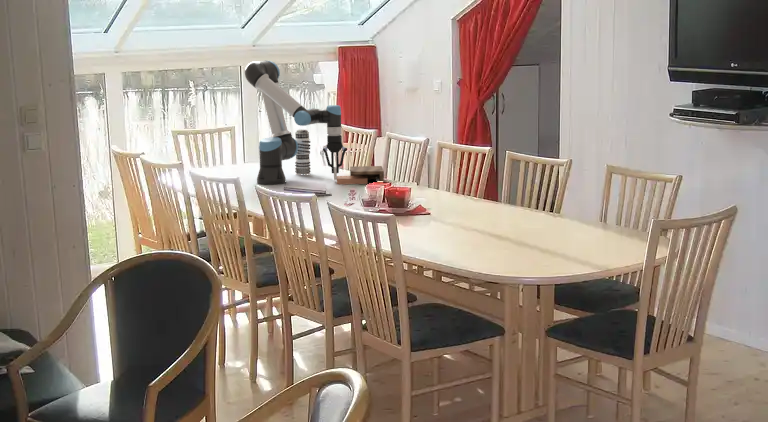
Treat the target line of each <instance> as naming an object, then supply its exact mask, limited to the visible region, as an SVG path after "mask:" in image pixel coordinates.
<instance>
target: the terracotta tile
mask: <svg viewBox="0 0 768 422" xmlns="http://www.w3.org/2000/svg"><path fill="white" fill-rule="evenodd" d="M336 184H337V185H363V184H364V185H365V184H368V180H367V176H350V175H337V180H336Z"/></svg>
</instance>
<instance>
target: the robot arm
mask: <svg viewBox="0 0 768 422" xmlns="http://www.w3.org/2000/svg"><path fill="white" fill-rule="evenodd" d="M280 73H281V71H280V68H279V67H278V65H277V64H276V63H275V62H273V61H270V60H258V61H257V60H256V61H251V62H249V63H248V64H247V65H246V67H245V69H244V77H245V79H246V80H247V82H248V83H249V84H250V85H251V86H252V87H254V88H255V89H256V90H259V91H261V96H262V99H263V102H264V108H265V111H266V115H267V120H268V123H269V127H270V130H271V135H270V137H264V138H262V139H260V140H259V142H258V143H259V144H258V151H259V152H258V153H259V170H258V174H257V178H256V183H257V184H259V185H281V184H284V183H286V182H285V181H287V179H286V178H287V177H286V175H285V173H284V170H283V161H285V160H286V161H287V160H290V159H293V158H294V157H296V153H297V152H298V143H297V141H296V140H295V138H294V137H293V135H292V132H290V131H289V130H288V126H287V123H286V119H285V114H284V111H285V112H286V113H288V114H289V115H290V116H291V117H293V119H294V120H293V121H294V122H295V124H296V125H298V126H300V127H304V126H309V125H315V124H316V125H317V124H326V129H327V130H326V132H327V133H326V134H327V135H326V137H327V138H326V139H327V142H326V143H327V144H326V146H325V147H323V148H322V151H323V152H324V156H325V159H326V162H327V166H328V167H330V168H331V174H333V180H334V181H337V176H338V175H337V174H340V173H339V172H340V171H339V170H340V167H342V166H343V162H344V158H345V154H346V151H347V150H348V149H347V147H345V146H344V145H343V143H342V141H343V140H342V137H343V136H342V108H341V106H340V105H339V104H338V105H337V104H331V105H330V104H329V105H327V106H326V108H315V107H314V108H308V109H306V107H304V106H303V105H302V104H301V103H299V102H298V101H297V100H296V99H295V98H294V97H292V96H291V95H290V94H288V92H286V91H285V90H284V89H283V88H281V87H280V86H279V84H280V83H279V78H280V76H281V75H280ZM283 110H284V111H283ZM328 150H329V152H330V155H331V157H330V158H329V154H328ZM339 152H342V153H341V157H340V160H339ZM334 153H335V158H334ZM334 159H336V161H334ZM330 160H331V162H330ZM339 161H340V162H339ZM334 162H335V163H334ZM335 164H336V166H335Z"/></svg>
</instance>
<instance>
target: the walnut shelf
mask: <svg viewBox="0 0 768 422" xmlns="http://www.w3.org/2000/svg"><path fill="white" fill-rule="evenodd" d="M349 176H367V181H371V179H376V180H375V181H384V180H385V177H384V176H385V171H384V169H383V166H382V165H371V166H370V165H368V166H367V165H366V166H365V165H364V166H362V165H361V166H360V165H359V166H354V165H353V166H350V168H349ZM384 182H385V181H384Z"/></svg>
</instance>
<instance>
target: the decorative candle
mask: <svg viewBox="0 0 768 422" xmlns="http://www.w3.org/2000/svg"><path fill="white" fill-rule="evenodd" d="M294 137H295V138H294V139H295V140H296V141H297V143H298V152H297V153H296V155H295V162H294V163H295V165H294V166H295V167H294V169H295V175H296V176H302V175H301V174H305V175H304V176H308V175H307V174H310V175H311V172H312V171H311V160H310V154H311V151H310V150H311V144H310V143H311V140H310V132H309V131H308V130H307V129H297V130H296V131H295V136H294Z"/></svg>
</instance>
